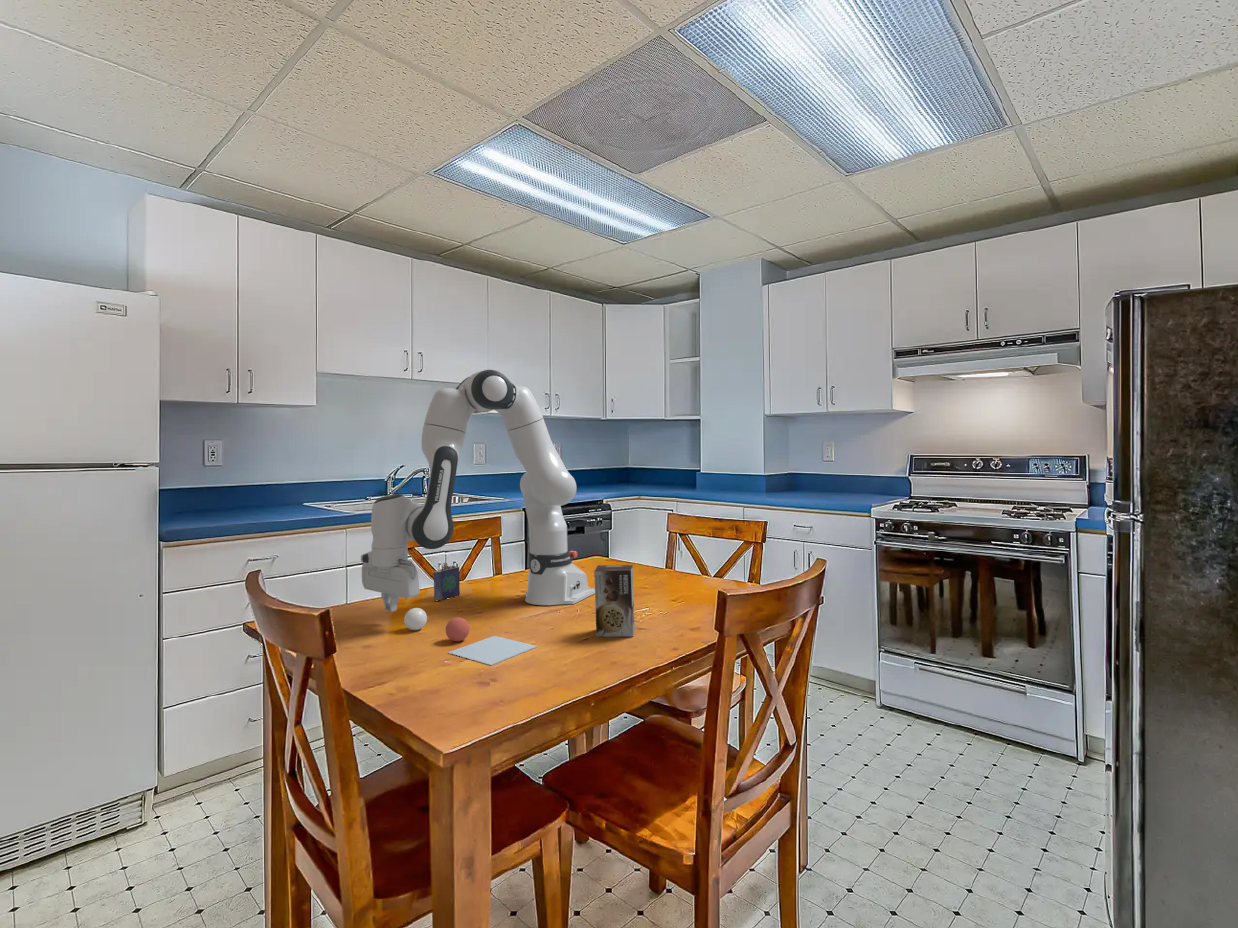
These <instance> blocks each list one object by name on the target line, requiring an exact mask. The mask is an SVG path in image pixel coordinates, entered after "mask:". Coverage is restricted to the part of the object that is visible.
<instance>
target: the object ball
mask: <svg viewBox="0 0 1238 928" xmlns="http://www.w3.org/2000/svg"><path fill="white" fill-rule="evenodd" d="M445 634H446V637H447V638H448V639H449V640H451V641H453V642H462V641H463V640H465V639H466V638H467V637H468V636H469V634H470V625H469V622H468V621H467V620H466V619H465V618H462V617H459V616H458V617H454V618H452V619H450V620H449V621H448V622H447V624H446V626H445Z"/></svg>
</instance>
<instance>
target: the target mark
mask: <svg viewBox="0 0 1238 928" xmlns="http://www.w3.org/2000/svg"><path fill="white" fill-rule="evenodd" d="M536 648H538V646H537V645H534V644H530V643H526V642H521V641H518V640H514V639H510V638H507V637H506V638H505V637H501V636H497V635H492V636H490V637H487V638H485V639H484V638H483V639H482V640H479V641H475V642H473V643H470V644H467V645H465V646H462V647H459V648H456V649H453V650H451V651H447V654H449V655H452V654H453V656H456V655H457V656H456V657H459V656H460V657H459V658H463V659H466V658H467V660H471V661H473V660H474V661H473V662H477V663H482V664H484V665H488V666H493V665H496V664H498V663H501V662H503V661H506V660H508V659H511V658H513V657H516V656H518V655H521V654H523V653H526V652H529V651H530V650H533V649H536Z"/></svg>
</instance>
